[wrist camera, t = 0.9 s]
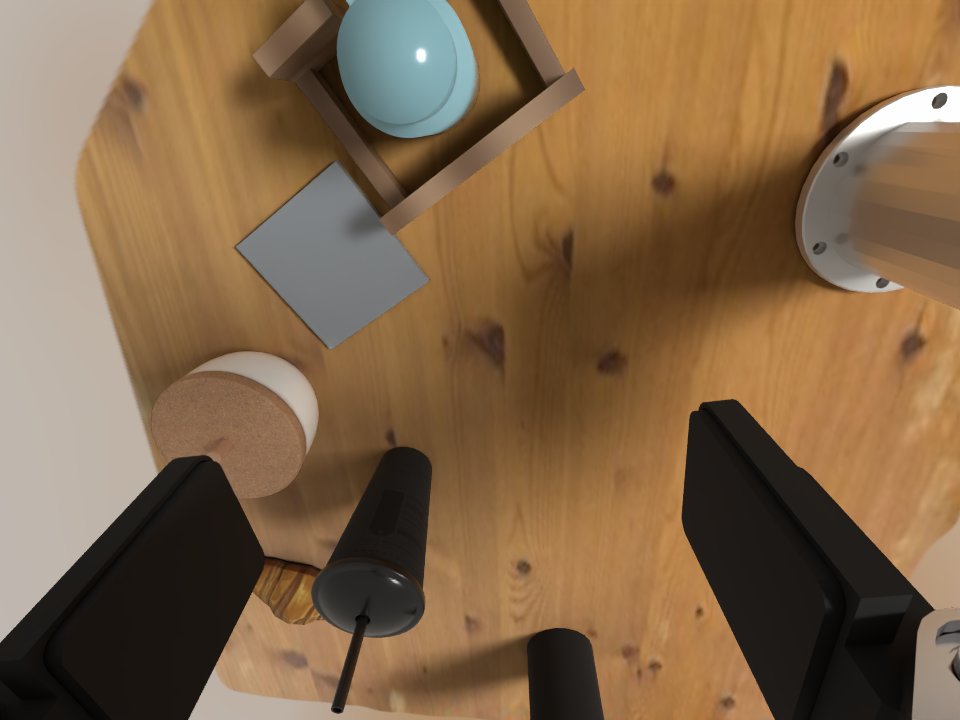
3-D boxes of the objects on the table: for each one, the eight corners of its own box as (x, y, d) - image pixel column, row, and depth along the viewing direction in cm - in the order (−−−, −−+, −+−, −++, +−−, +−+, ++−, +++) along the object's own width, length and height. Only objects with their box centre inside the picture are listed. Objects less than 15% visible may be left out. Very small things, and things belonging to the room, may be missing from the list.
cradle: (464, -106, 25) (456, -155, 20) (572, 94, 29) (585, 89, 24) (291, 65, 29) (252, 55, 24) (406, 220, 33) (391, 236, 28)
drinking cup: (348, 458, 43) (237, 696, 25) (411, 420, 41) (339, 652, 23) (400, 509, 46) (334, 757, 28) (463, 477, 43) (434, 724, 26)
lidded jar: (350, 433, 42) (312, 511, 33) (238, 442, 43) (174, 520, 34) (316, 323, 37) (261, 382, 28) (190, 337, 38) (102, 397, 30)
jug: (406, -62, 26) (346, -175, 16) (499, 93, 29) (496, 78, 19) (328, 15, 28) (232, -44, 18) (424, 153, 31) (386, 168, 21)
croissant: (241, 576, 51) (217, 618, 47) (253, 536, 48) (227, 578, 44) (357, 612, 53) (344, 656, 49) (375, 576, 50) (363, 620, 46)
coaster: (338, 160, 31) (335, 161, 31) (429, 279, 35) (428, 281, 34) (240, 245, 34) (235, 246, 34) (333, 346, 38) (330, 350, 37)
